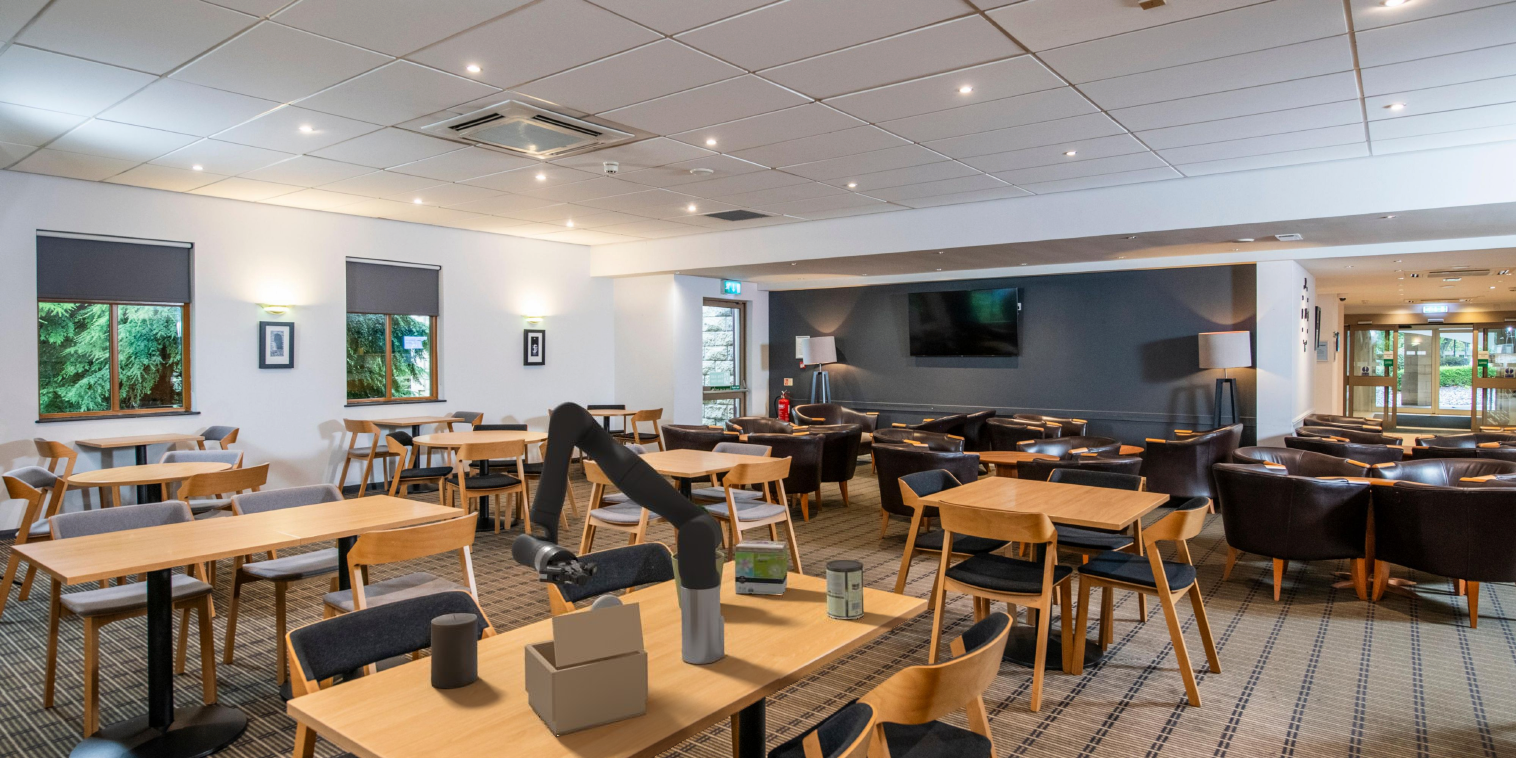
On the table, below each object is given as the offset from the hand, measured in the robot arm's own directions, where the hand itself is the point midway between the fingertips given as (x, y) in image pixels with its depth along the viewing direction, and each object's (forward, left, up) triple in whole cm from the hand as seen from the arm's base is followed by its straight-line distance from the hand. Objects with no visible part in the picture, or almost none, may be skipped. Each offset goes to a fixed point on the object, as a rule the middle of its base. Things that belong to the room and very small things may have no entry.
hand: (582, 580), depth 162 cm
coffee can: (-82, -20, -26) cm, 88 cm away
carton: (0, +1, -26) cm, 26 cm away
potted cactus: (-52, -50, -26) cm, 77 cm away
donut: (-21, -42, -26) cm, 54 cm away
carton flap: (0, +9, -8) cm, 12 cm away
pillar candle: (+19, -30, -26) cm, 44 cm away
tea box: (-76, -54, -26) cm, 97 cm away
